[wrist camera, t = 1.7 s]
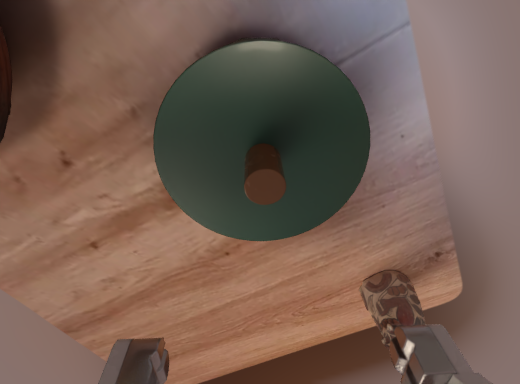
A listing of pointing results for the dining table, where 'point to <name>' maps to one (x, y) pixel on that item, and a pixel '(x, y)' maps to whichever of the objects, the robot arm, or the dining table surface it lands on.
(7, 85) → the bowl
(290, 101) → the lid
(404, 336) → the robot arm
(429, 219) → the dining table surface
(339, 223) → the dining table surface
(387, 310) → the figurine
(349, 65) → the dining table surface
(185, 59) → the dining table surface
